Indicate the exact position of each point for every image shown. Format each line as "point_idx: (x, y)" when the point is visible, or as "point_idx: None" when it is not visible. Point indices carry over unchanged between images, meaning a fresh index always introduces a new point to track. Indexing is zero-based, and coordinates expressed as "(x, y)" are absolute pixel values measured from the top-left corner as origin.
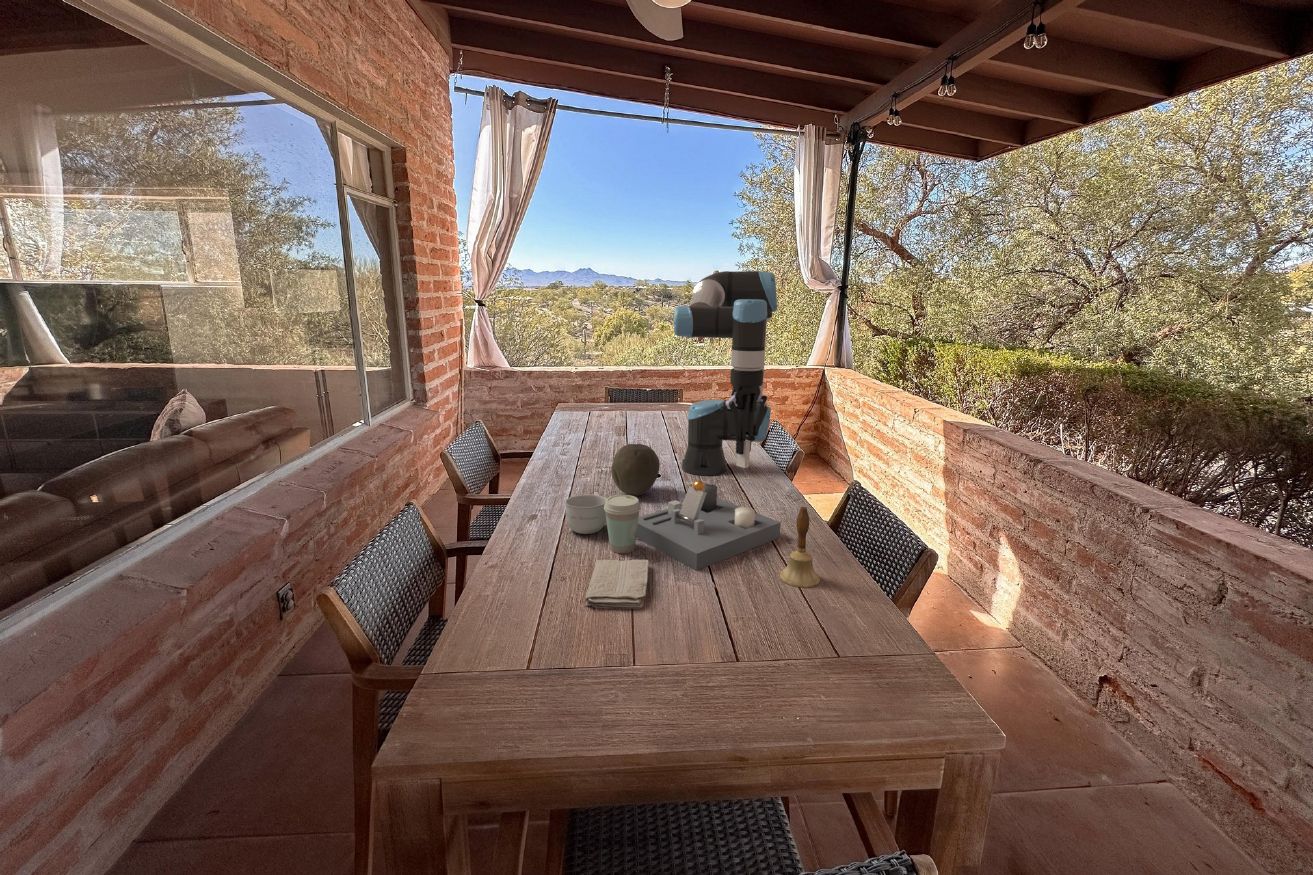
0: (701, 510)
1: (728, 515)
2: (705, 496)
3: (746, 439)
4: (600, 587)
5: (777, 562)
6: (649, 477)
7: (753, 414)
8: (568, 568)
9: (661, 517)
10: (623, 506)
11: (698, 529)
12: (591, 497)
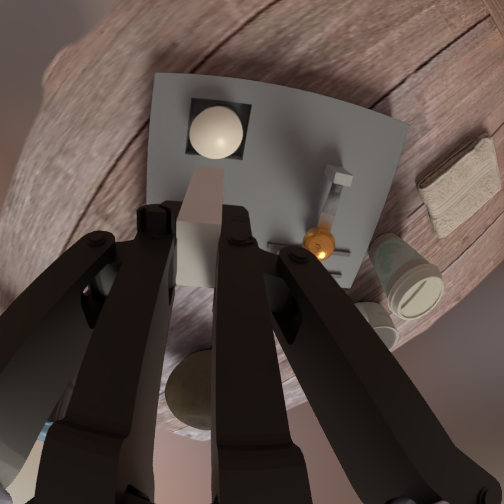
0: None
1: None
2: None
3: (177, 250)
4: (489, 188)
5: (274, 18)
6: (209, 366)
7: (86, 393)
8: (448, 252)
9: None
10: (442, 280)
11: (344, 170)
12: None
